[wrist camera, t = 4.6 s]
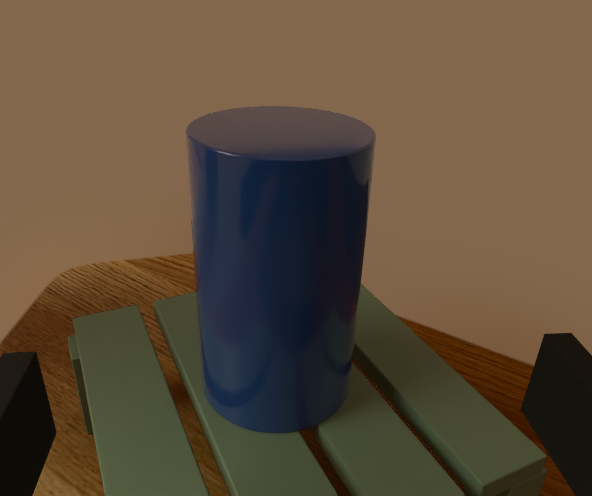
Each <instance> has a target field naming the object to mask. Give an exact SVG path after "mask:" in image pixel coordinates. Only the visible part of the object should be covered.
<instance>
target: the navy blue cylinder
mask: <svg viewBox="0 0 592 496" xmlns="http://www.w3.org/2000/svg"><path fill="white" fill-rule="evenodd" d="M185 134H186V149H187V165H188V178H189V179H188V180H189V193H190V194H189V195H190V210H191V225H192V240H193V255H194V270H195V285H196V300H197V315H198V331H199V346H200V361H201V376H202V387H203V391H204V394H205V397H206V399H207V401H208V402H209V404H210V405H211V406H212V408H213V409H214V410H215V411H216V412H217V413H218V414H219V415H220V416H222V417H223V418H225V419H226V420H228V421H229V422H231V423H233V424H235V425H237V426H240V427H243V428H245V429H249V430H253V431H257V432H265V433H288V432H294V431H300V430H303V429H307V428H310V427H312V426H315V425H317V424H319V423H321V422H323V421H324V420H326V419H328V418H329V417H330V416H332V415H333V414H334V413H335V412H336V411H337V410H338V409H339V408H340V406H341V405H342V404H343V402H344V401H345V399H346V397H347V395H348V391H349V386H350V377H351V368H352V358H353V349H354V340H355V330H356V321H357V312H358V303H359V293H360V284H361V275H362V265H363V256H364V246H365V237H366V228H367V218H368V209H369V199H370V190H371V181H372V172H373V162H374V153H375V144H376V134H375V131H374V130H373V129H372V128H371V127H370V126H369V125H367V124H366V123H364V122H362V121H360V120H357V119H355V118H352V117H349V116H346V115H343V114H339V113H334V112H330V111H324V110H318V109H310V108H300V107H283V106H282V107H281V106H261V107H245V108H236V109H229V110H223V111H218V112H214V113H210V114H207V115H204V116H202V117H199V118H197V119H195V120H193V121H192V122H191V123H190V124H189V125H188V126H187V128H186V132H185Z"/></svg>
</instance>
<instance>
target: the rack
mask: <svg viewBox="0 0 592 496" xmlns="http://www.w3.org/2000/svg"><path fill="white" fill-rule="evenodd" d="M154 312H155V317H156V319H157V322H158V324H159V326H160V329H161V331H162V334H163V336H164V338H165V341H166V343H167V346H168V348H169V351H170V353H171V355H172V358H173V360H174V363H175V365H176V367H177V370H178V372H179V375H180V377H181V379H182V382H183V384H184V387H185V389H186V391H187V394H188V396H189V399H190V401H191V404H192V406H193V408H194V411H195V413H196V416H197V418H198V420H199V423H200V425H201V428H202V430H203V432H204V435H205V437H206V440H207V442H208V444H209V447H210V449H211V452H212V454H213V457H214V459H215V461H216V464H217V466H218V469H219V471H220V473H221V476H222V478H223V481H224V483H225V485H226V488H227V490H228V493H229V495H230V496H338V494H337V492H336V491H335V489H334V487H333V486H332V484H331V483H330V481H329V479H328V478H327V476H326V474H325V473H324V471H323V470H322V468H321V466H320V465H319V463H318V462H317V460H316V458H315V457H314V455H313V453H312V452H311V450H310V449H309V447H308V445H307V444H306V442H305V440H304V439H303V437H302V436H301V434H300V432H299V431H294V432H288V433H265V432H257V431H253V430H249V429H245V428H243V427H240V426H237V425H235V424H233V423H231V422H229V421H228V420H226V419H225V418H223V417H222V416H220V415H219V414H218V413H217V412H216V411H215V410H214V409H213V408H212V406H211V405H210V404H209V402H208V401H207V399H206V397H205V394H204V391H203V387H202V376H201V361H200V346H199V331H198V315H197V300H196V292H193V293H188V294H184V295H179V296H175V297H170V298H165V299H161V300H156V301H154ZM73 325H74V330H75V335H71V336H68V337H67V338H68V345H69V351H70V357H71V362H72V367H73V372H74V376H75V381H76V386H77V390H78V395H79V400H80V404H81V409H82V414H83V418H84V423H85V428H86V432H87V434H90V433H93V434H94V439H95V444H96V450H97V455H98V461H99V466H100V472H101V477H102V482H103V488H104V493H105V496H210V495H209V492H208V490H207V487H206V484H205V482H204V479H203V476H202V474H201V471H200V468H199V466H198V463H197V461H196V458H195V455H194V453H193V450H192V447H191V445H190V442H189V439H188V437H187V434H186V431H185V429H184V426H183V423H182V421H181V418H180V416H179V413H178V410H177V408H176V405H175V402H174V400H173V397H172V394H171V392H170V389H169V386H168V384H167V381H166V379H165V376H164V373H163V371H162V368H161V365H160V363H159V360H158V357H157V355H156V352H155V349H154V347H153V344H152V341H151V339H150V336H149V334H148V331H147V328H146V326H145V323H144V320H143V318H142V315H141V312H140V310H139V307H138V305H132V306H128V307H123V308H119V309H114V310H109V311H105V312H100V313H95V314H91V315H86V316H82V317H77V318H73ZM353 359H354V360H355V361H356V363H357V364H358V365H359V366H360V367H361V368H362V370H363V371H364V372H365V373H366V374H367V375H368V377H369V378H370V379H371V380H372V381H373V382H374V383H375V385H376V386H377V387H378V388H379V389H380V390H381V392H382V393H383V394H384V395H385V396H386V397H387V399H388V400H389V401H390V402H391V403H392V404H393V406H394V407H395V408H396V409H397V410H398V411H399V412H400V414H401V415H402V416H403V417H404V418H405V419H406V421H407V422H408V423H409V424H410V425H411V426H412V428H413V429H414V430H415V431H416V432H417V433H418V435H419V436H420V437H421V438H422V439H423V440H424V441H425V443H426V444H427V445H428V446H429V447H430V448H431V450H432V451H433V452H434V453H435V454H436V455H437V457H438V458H439V459H440V460H441V461H442V462H443V464H444V465H445V466H446V467H447V468H448V469H449V470H450V472H451V473H452V474H453V475H454V476H455V477H456V479H457V480H458V481H459V482H460V483H461V484H462V486H463V490H461V489H460V488H459V487H458V486H457V484H456V483H455V482H454V481H453V480H452V478H451V477H450V476H449V475H448V474H447V473H446V471H445V470H444V469H443V468H442V467H441V466H440V464H439V463H438V462H437V461H436V460H435V459H434V457H433V456H432V455H431V454H430V453H429V451H428V450H427V449H426V448H425V447H424V446H423V444H422V443H421V442H420V441H419V440H418V439H417V437H416V436H415V435H414V434H413V433H412V432H411V430H410V429H409V428H408V427H407V426H406V425H405V423H404V422H403V421H402V420H401V419H400V417H399V416H398V415H397V414H396V413H395V412H394V410H393V409H392V408H391V407H390V406H389V405H388V403H387V402H386V401H385V400H384V399H383V398H382V396H381V395H380V394H379V393H378V392H377V391H376V389H375V388H374V387H373V386H372V385H371V383H370V382H369V381H368V380H367V379H366V378H365V376H364V375H363V374H362V373H361V372H360V371H359V369H358V368H357V367H356V366H355V365H354V364H353V362H352V368H351V377H350V386H349V391H348V395H347V397H346V399H345V401H344V402H343V404H342V405H341V406H340V408H339V409H338V410H337V411H336V412H335V413H334V414H333V415H332V416H330V417H329V418H328V419H326V420H324V421H323V422H321V423H319V424H317V425H315V426H312V427H310V428H308V429H309V430H310V432H311V433H312V435H313V437H314V438H315V440H316V441H317V443H318V444H319V446H320V447H321V449H322V451H323V452H324V454H325V455H326V457H327V458H328V460H329V462H330V463H331V465H332V466H333V468H334V469H335V471H336V472H337V474H338V476H339V477H340V479H341V480H342V482H343V483H344V485H345V487H346V488H347V490H348V491H349V493H350V494H351V496H538V495H539V493H540V490H541V488H542V485H543V482H544V480H545V477H546V474H547V472H548V470H547V469H546V468H545V467H544V463H545V461H546V458H547V455H546V454H545V453H544V452H543V451H542V450H541V449H540V448H538V447H537V446H536V445H535V444H534V443H533V442H532V441H531V440H530V439H529V438H528V437H527V436H525V435H524V434H523V433H522V432H521V431H520V430H519V429H518V428H517V427H516V426H515V425H514V424H512V423H511V422H510V421H509V420H508V419H507V418H506V417H505V416H504V415H503V414H502V413H501V412H499V411H498V410H497V409H496V408H495V407H494V406H493V405H492V404H491V403H490V402H489V401H488V400H486V399H485V398H484V397H483V396H482V395H481V394H480V393H479V392H478V391H477V390H476V389H475V388H473V387H472V386H471V385H470V384H469V383H468V382H467V381H466V380H465V379H464V378H463V377H462V376H460V375H459V374H458V373H457V372H456V371H455V370H454V369H453V368H452V367H451V366H450V365H449V364H447V363H446V362H445V361H444V360H443V359H442V358H441V357H440V356H439V355H438V354H437V353H436V352H434V351H433V350H432V349H431V348H430V347H429V346H428V345H427V344H426V343H425V342H424V341H423V340H421V339H420V338H419V337H418V336H417V335H416V334H415V333H414V332H413V331H412V330H411V329H410V328H408V327H407V326H406V325H405V324H404V323H403V322H402V321H401V320H400V319H399V318H398V317H397V316H395V315H394V314H393V313H392V312H391V311H390V310H389V309H388V308H387V307H386V306H385V305H383V304H382V303H381V302H380V301H379V300H378V299H377V298H376V297H375V296H374V295H373V294H372V293H371V292H369V291H368V290H367V289H366V288H365V287H364V286H363V285H362V284H360V293H359V303H358V312H357V321H356V330H355V340H354V349H353Z"/></svg>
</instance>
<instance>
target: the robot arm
mask: <svg viewBox="0 0 592 496" xmlns="http://www.w3.org/2000/svg"><path fill="white" fill-rule="evenodd" d="M521 411H522V412H523V414H524V415H525V417H526V419H527V420H528V422H529V423H530V425H531V426H532V428H533V430H534V431H535V433H536V434H537V436H538V437H539V439H540V441H541V442H542V444H543V445H544V447H545V448H546V450H547V452H548V453H549V455H550V456H551V458H552V459H553V461H554V463H555V464H556V466H557V467H558V469H559V470H560V472H561V474H562V475H563V477H564V478H565V480H566V481H567V483H568V485H569V486H570V488H571V489H572V491H573V492H574V494H575V496H592V355H590V353H589V352H588V351H587V350H586V349H585V348H584V347H583V345H582V344H581V343H580V342H579V341H578V340H577V339H576V338H575V337H574V336H573V334H572V333H559V334H544V337H543V340H542V343H541V347H540V350H539V353H538V356H537V359H536V362H535V366H534V369H533V372H532V375H531V378H530V381H529V384H528V388H527V391H526V394H525V397H524V400H523V403H522V407H521ZM55 435H56V429H55V425H54V421H53V417H52V413H51V409H50V405H49V401H48V397H47V393H46V389H45V385H44V381H43V377H42V373H41V369H40V365H39V361H38V357H37V353H36V352H15V353H3V354H2V356H1V357H0V496H32V495H33V492H34V489H35V487H36V484H37V482H38V479H39V477H40V474H41V471H42V469H43V466H44V464H45V461H46V459H47V456H48V453H49V451H50V448H51V446H52V443H53V440H54V438H55Z"/></svg>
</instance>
